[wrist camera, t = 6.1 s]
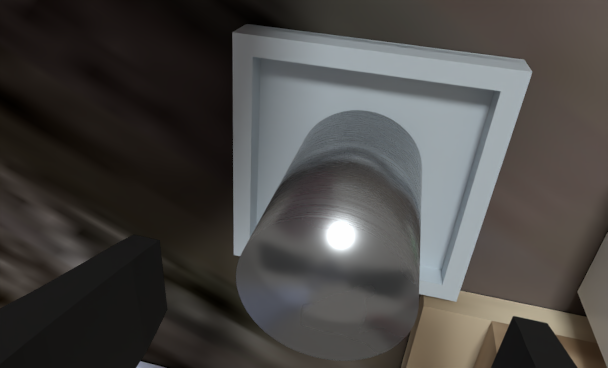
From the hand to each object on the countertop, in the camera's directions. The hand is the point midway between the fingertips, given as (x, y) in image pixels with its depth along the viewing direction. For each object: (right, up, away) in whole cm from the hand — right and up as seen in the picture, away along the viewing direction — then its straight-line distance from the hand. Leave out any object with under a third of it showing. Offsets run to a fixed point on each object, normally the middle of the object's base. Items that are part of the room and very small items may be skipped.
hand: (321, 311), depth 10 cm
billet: (+1, +3, +6) cm, 7 cm away
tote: (+2, +3, +6) cm, 7 cm away
